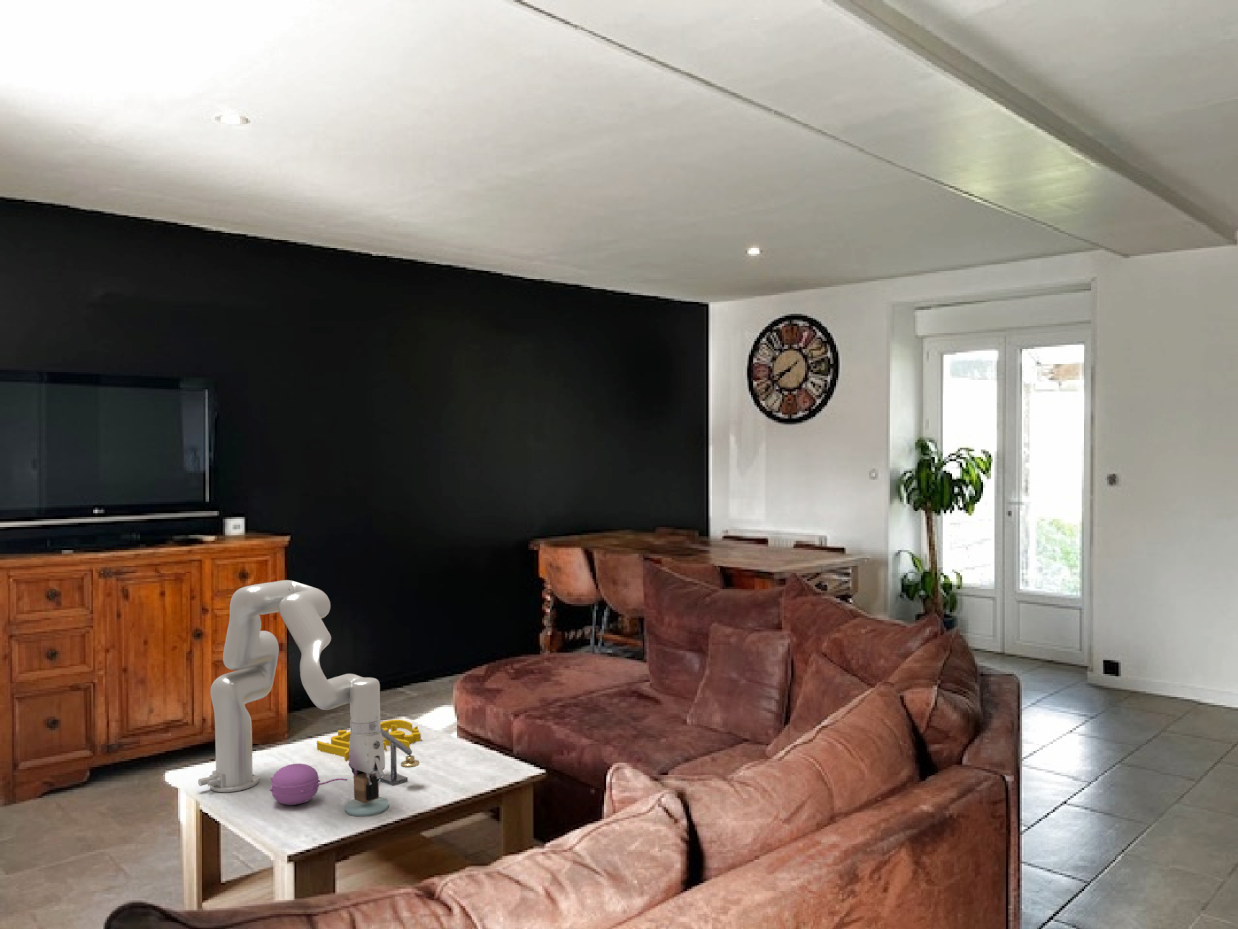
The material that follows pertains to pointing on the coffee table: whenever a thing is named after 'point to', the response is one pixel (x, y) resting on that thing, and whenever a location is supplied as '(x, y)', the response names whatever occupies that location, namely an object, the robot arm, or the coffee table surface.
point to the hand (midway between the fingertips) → (366, 796)
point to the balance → (410, 760)
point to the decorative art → (342, 741)
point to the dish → (366, 807)
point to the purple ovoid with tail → (296, 784)
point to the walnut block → (361, 787)
